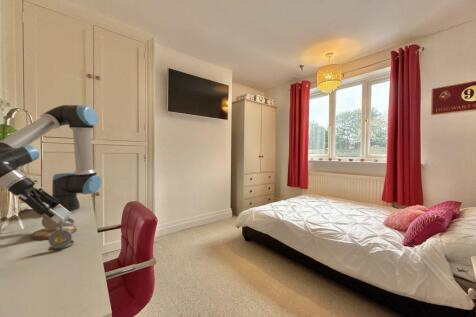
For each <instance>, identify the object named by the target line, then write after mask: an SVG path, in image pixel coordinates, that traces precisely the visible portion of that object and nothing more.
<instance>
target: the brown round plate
mask: <svg viewBox="0 0 476 317" xmlns="http://www.w3.org/2000/svg"><path fill="white" fill-rule="evenodd" d="M62 226H63V225H62ZM59 227H60V226H59ZM59 227H57V228H55V229H47V228H45V227H44V228H42V229H41V228H40V229H38V230H36V231H34V232H32V233H31V234H30V239H31V240H33V241H49V237H50V235H51V234H52V233H53V232H55V231H57V230H60V228H59ZM77 228H78V227H77V226H75V225H73V226H64V227H63V228H62V229H65V230H68V231H70V232H71V234H72V235H73V234H74V233H75V232H76V231H77ZM56 237H57V236H56ZM55 239H57V238H55Z"/></svg>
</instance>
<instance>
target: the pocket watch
mask: <svg viewBox="0 0 476 317" xmlns="http://www.w3.org/2000/svg"><path fill="white" fill-rule="evenodd" d="M60 224H64V223H60ZM57 225H59V224H57ZM57 225H56V226H57ZM64 226H65V224H64ZM64 226H62V225H61V226H60V227H59V228H60V230H57V231H55V232H53V233H52V234H51V235H50V237H49V240H48V244H49V246H51V248H52V249H54V250H59V249H65V248H68V247H71V246H72V245H74V243H75V240H73V233H72V234H71V232H70V231H68V230H65V229H62V228H63V227H64ZM57 227H58V226H57ZM56 236H57V237H56ZM55 238H56V239H55Z"/></svg>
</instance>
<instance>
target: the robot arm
mask: <svg viewBox="0 0 476 317" xmlns="http://www.w3.org/2000/svg"><path fill="white" fill-rule="evenodd" d="M98 120H99V117H98V114H97V112H96V110H95V109H94V108H93V107H91V106H88V105H83V104H81V105H80V104H77V105H76V104H75V105H72V104H62V105H58V106H56V107H53V108H51V109H49V110H47V111H45V112H43V113H42V114H40V117H39V118H38V119H36V120H34V121H32V122H31V123H29V124H27V125H26V126H24V127H22V128H21V129H19V130H16V132H14V133H12V134H10V135H9V136H7V137H5V138H4V139H2V140H0V187H3V188H4V189H6V190H8V192H10V193H11V194H12V195H14V196H17V198H18V199H19V200H21V201H22V202H23V203H25V204H26V205H27V206H28V207H30V208H31V209H32V210H33V211H34V212H35V213H36V214H39V216H43V215H44V216H45V215H46V216H48V217H49V218H50V219H52V220H53V221H54V222H56V223H57V224H58V223H59V222H60V221H61V220H63V219H64V218H63V217H61V216H60V215H59V214H57V213H56V212H55V211H53V209H55V208H64V209H66V210H67V211H68V212H69V215H71V214H72V212H71V210H72V211H75V209H76V210H78V209H80V208H79V207H80V206H81V204H80V201H79V199H78V197H77V195H78V194H83V195H92V194H94V193H97V192H98V191H99V189H100V188H101V187H102V178H101V177H100V175H98V174H97V170H95V169H94V161H93V148H92V147H93V146H92V145H93V144H92V131H93V129H94V126H96V125H97V123H98ZM62 126H68V127H69V129H70V130H71V131H72V135H73V149H74V151H73V152H74V161H75V162H74V163H75V164H74V165H75V171H73V172H63V173H55V174H54V175H53V176H52V195H51V194H49V193H48V192H47V191H45V190H44V189H43V188H40V187H39V188H36V187H34V186H35V184H36V182H35V181H33V180H32V179H31V178H29V177H27V175H26V174H25V173H23V172H22V171H21V170H19V169H18V168H20V167H23V166H25V165H27V164H30V163H32V162H34V161H37V160H38V159H39V158H40V152H39V150H38V149H37V147H35V146H33V145H31V144H33V143H34V142H36V141H37V140H39V139H40V138H41V137H43V136H45V135H46V134H47V133H49V132H50V131H52V130H54V129H58V128H59V129H60V127H62ZM47 205H48V206H47ZM77 208H78V209H77Z"/></svg>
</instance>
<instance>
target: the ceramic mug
mask: <svg viewBox="0 0 476 317" xmlns="http://www.w3.org/2000/svg"><path fill="white" fill-rule="evenodd" d="M53 211H55V212H56V213H57V214H59V215H60V216H61V217H63V218H64V219H63V220H61V221H60V222H59V223H58V224H59V225H57V223H56V222H54V221H53V220H52V219H50V218H49V217H48V216H46V215H45V214H44V216H43V217H42V219H41V225H42V227H44V228H47V229H55V228H57V226H58V227H59V226H61V225H63V226H64V224H65V226H75V225H74V224H76V221H75V220H74V219H73V218H71V217H70V214H69V212H70V211H69V212H68V211H67V210H66V209H64V208H55V209H53ZM60 223H64V224H60ZM56 225H57V226H56Z"/></svg>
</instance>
